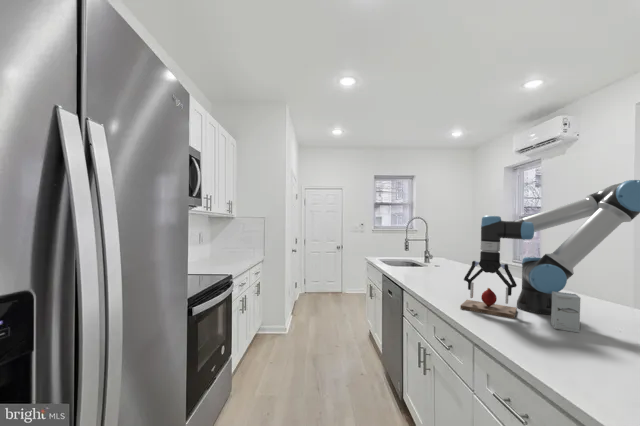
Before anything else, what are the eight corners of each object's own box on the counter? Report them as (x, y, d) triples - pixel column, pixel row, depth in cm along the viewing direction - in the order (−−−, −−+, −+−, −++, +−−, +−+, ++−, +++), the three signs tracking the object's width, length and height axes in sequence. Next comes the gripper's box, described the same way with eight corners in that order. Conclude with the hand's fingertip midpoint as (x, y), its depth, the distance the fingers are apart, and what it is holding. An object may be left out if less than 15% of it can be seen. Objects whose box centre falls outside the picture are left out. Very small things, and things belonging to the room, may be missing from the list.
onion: (492, 305, 141) (493, 287, 141) (498, 308, 135) (499, 289, 136) (479, 304, 142) (479, 286, 142) (484, 307, 136) (485, 288, 136)
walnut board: (516, 311, 138) (516, 307, 138) (514, 318, 127) (514, 314, 127) (466, 302, 150) (466, 299, 150) (460, 308, 138) (460, 305, 138)
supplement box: (554, 329, 115) (555, 294, 116) (550, 323, 122) (551, 290, 122) (580, 333, 112) (580, 297, 112) (575, 327, 118) (575, 293, 119)
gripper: (457, 249, 143) (456, 296, 143) (523, 254, 129) (522, 307, 128) (461, 248, 149) (459, 294, 149) (524, 253, 135) (523, 303, 134)
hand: (488, 300), depth 139 cm, fingers open, 13 cm apart
